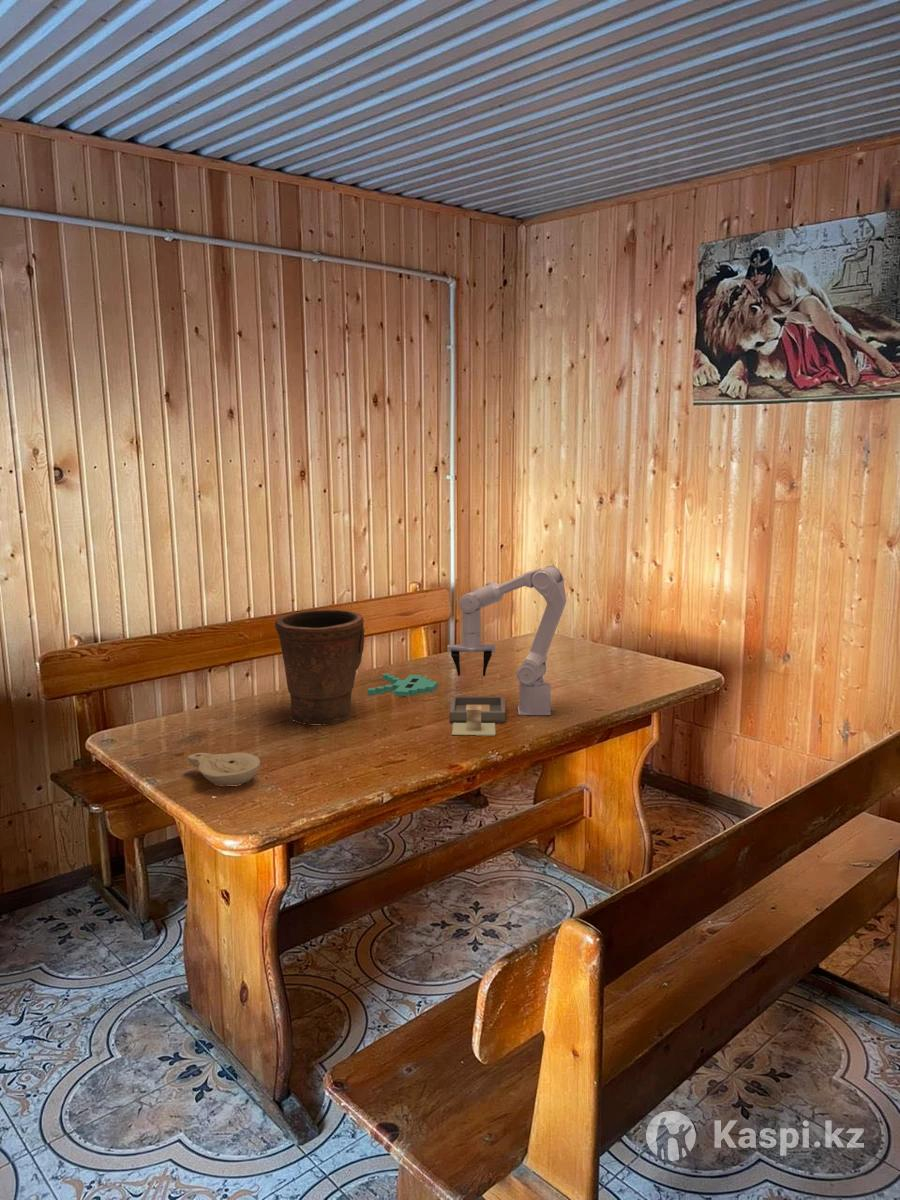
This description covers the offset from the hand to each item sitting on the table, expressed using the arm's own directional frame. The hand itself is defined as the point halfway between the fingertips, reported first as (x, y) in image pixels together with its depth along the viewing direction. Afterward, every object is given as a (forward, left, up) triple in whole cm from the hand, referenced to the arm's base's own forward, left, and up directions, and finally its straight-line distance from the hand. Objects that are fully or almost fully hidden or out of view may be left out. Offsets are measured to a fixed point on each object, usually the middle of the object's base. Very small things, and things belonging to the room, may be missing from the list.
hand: (471, 674), depth 272 cm
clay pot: (+43, +10, -10) cm, 45 cm away
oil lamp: (+60, +61, -10) cm, 86 cm away
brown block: (-1, +24, -9) cm, 25 cm away
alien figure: (+22, -18, -10) cm, 30 cm away
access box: (-2, +10, -9) cm, 14 cm away
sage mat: (-1, +24, -9) cm, 26 cm away
